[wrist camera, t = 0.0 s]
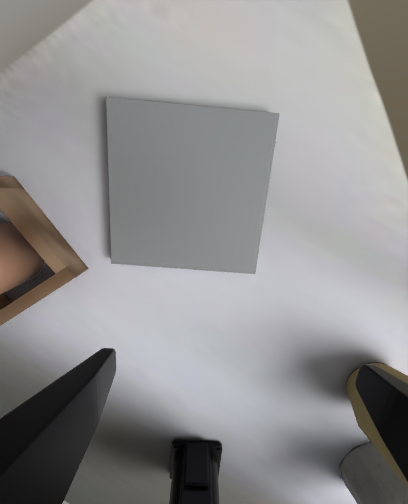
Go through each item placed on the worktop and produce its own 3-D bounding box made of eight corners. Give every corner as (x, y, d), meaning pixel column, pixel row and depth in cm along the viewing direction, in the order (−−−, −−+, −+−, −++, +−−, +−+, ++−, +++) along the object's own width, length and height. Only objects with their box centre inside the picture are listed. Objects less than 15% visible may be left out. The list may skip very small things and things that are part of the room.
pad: (252, 270, 23) (255, 273, 22) (115, 260, 22) (111, 263, 21) (275, 117, 19) (279, 113, 18) (111, 101, 19) (106, 96, 18)
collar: (88, 268, 22) (74, 277, 20) (13, 316, 24) (-9, 330, 21) (14, 176, 20) (-12, 174, 18) (-65, 236, 21) (-99, 242, 19)
